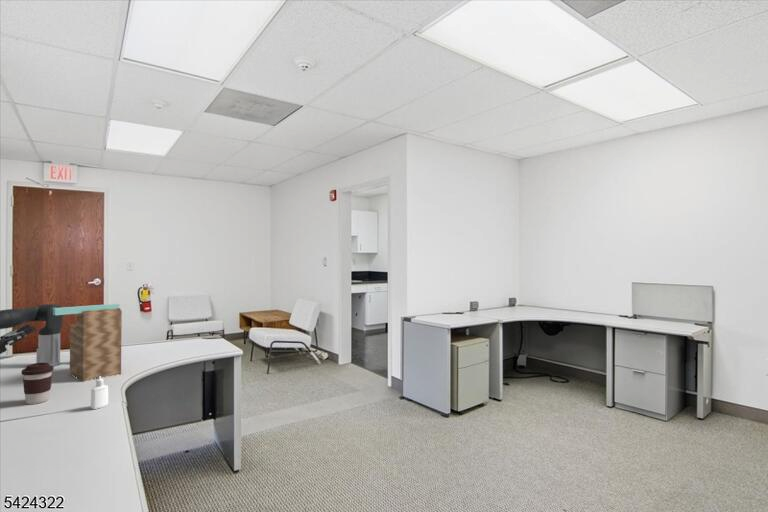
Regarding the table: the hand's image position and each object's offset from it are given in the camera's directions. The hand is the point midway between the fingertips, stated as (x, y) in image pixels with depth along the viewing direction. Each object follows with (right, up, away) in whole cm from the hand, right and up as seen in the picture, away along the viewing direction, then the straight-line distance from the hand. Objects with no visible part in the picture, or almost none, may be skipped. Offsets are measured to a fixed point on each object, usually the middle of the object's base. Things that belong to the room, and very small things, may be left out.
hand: (31, 326), depth 182 cm
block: (+13, +4, +16) cm, 21 cm away
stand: (+12, -28, +23) cm, 38 cm away
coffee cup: (+17, -28, -17) cm, 36 cm away
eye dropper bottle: (+46, -28, -23) cm, 59 cm away
